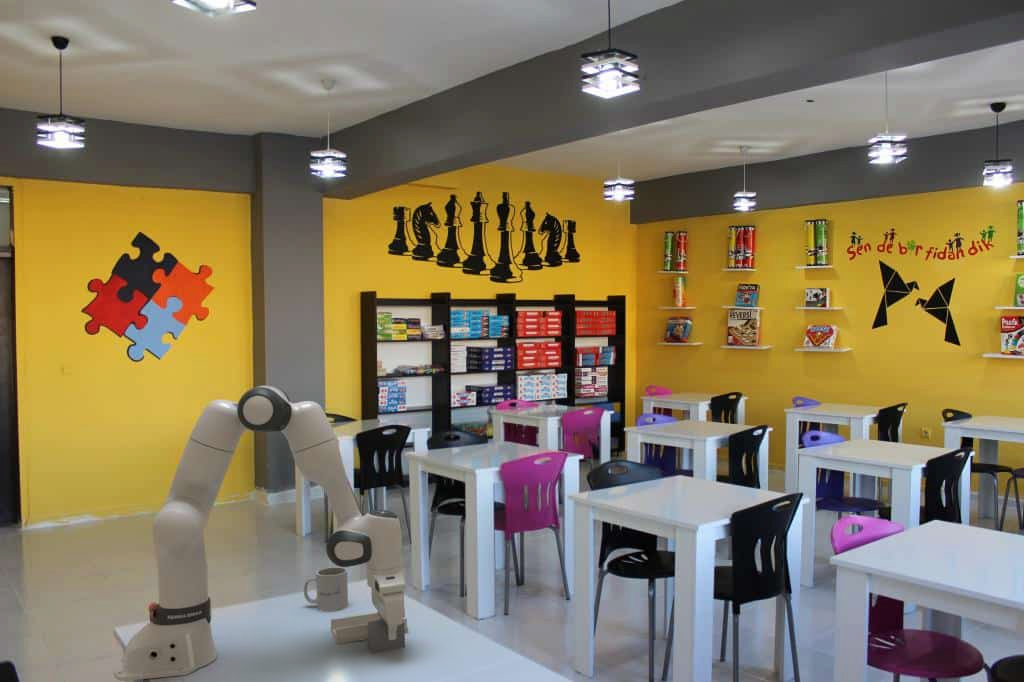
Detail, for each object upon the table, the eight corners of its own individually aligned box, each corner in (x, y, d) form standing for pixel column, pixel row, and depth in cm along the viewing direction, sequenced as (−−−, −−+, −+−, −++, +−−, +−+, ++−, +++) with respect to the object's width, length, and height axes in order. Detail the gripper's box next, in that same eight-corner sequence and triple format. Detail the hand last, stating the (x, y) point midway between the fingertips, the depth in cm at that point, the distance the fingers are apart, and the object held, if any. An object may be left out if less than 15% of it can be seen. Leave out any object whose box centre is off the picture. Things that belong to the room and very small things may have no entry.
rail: (336, 643, 202) (336, 621, 202) (330, 630, 211) (330, 609, 211) (407, 632, 208) (407, 611, 208) (398, 620, 218) (398, 599, 218)
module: (372, 653, 196) (371, 628, 196) (368, 646, 200) (367, 621, 200) (405, 647, 199) (404, 623, 198) (400, 640, 203) (399, 616, 203)
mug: (353, 602, 234) (352, 567, 234) (340, 612, 226) (338, 576, 226) (314, 600, 237) (313, 566, 237) (299, 610, 229) (298, 574, 229)
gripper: (364, 567, 208) (366, 621, 208) (381, 589, 189) (383, 648, 189) (388, 564, 210) (390, 617, 210) (407, 585, 191) (410, 644, 191)
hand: (387, 632), depth 200 cm, fingers open, 8 cm apart
